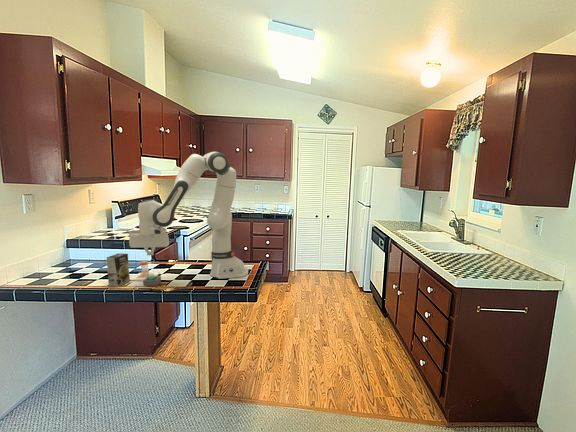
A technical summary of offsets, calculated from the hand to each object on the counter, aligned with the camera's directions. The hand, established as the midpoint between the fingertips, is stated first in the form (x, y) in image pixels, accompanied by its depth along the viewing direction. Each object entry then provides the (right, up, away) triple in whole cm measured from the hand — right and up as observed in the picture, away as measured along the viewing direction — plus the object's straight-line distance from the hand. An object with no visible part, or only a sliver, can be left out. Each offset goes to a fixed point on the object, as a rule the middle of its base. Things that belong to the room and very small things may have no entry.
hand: (150, 255), depth 169 cm
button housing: (0, -16, +2) cm, 16 cm away
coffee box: (-18, -16, +2) cm, 24 cm away
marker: (-8, -14, +13) cm, 20 cm away
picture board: (-8, -15, +13) cm, 21 cm away
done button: (0, -14, +2) cm, 14 cm away
